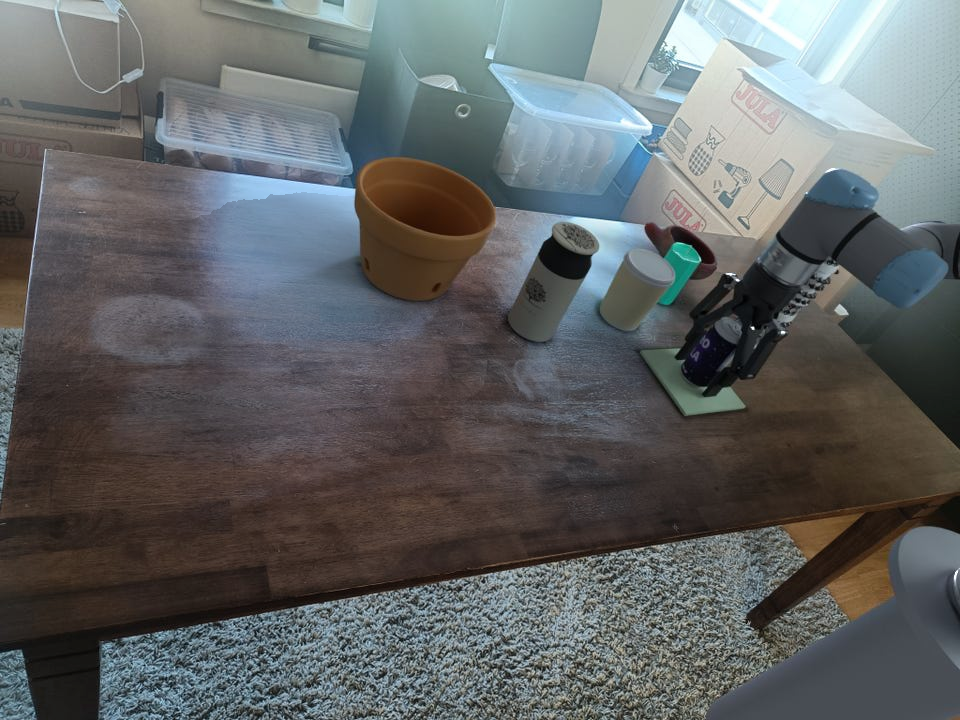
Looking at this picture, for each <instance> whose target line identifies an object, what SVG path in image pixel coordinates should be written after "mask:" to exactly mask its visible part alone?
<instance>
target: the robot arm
mask: <svg viewBox="0 0 960 720" xmlns="http://www.w3.org/2000/svg"><path fill="white" fill-rule="evenodd" d="M879 198H880V192H879V191H878V189H877V188H876V187H875V186H873V185H872V184H871V183H870V182H869V181H868V180H867V179H865V178H864V177H862V176H860V175H858V174H856V173H854V172H852V171H849V170H847V169H843V168H830V169H828V170H827V171H825V172H824V173H823V174H822V175H821V176H820V177H819V179H818V180H817V181H816V182H815V183H814V184H813V185H812V186H811V188H810V189H809V190H808V191H807V192H805V194H803V197H802V198H801V200H800V201H799V203H798V204H797V206H796V207H795V208H794V209H793V211H792V212H791V213H790V214H789V217H788V218H787V219H786V221H784V223H783V224H782V225H781V227H780V228H779V229H778V231H777V232H776V233H775V234H774V235H773V237H772V238H771V240H770V241H769V242H768V244H767V245H766V246H765V247H764V249H763V250H762V252H761V253H760V254H759V258H756V259H755V260H754V261H753V262H752V263H751V265H750V266H749V268H748V269H747V270H746V272H744V274H743V276H742V279H739V276H738V275H737V274H736V273H723V274H722V275H721V276H720V278H719V280H718V282H717V284H716V285H715V286H714V287H713V288H712V289H711V290H710V291H709V292H708V293H707V294H706V295H705V296H704V297H703V298H702V299H701V300H700V301H699V302H698V303H697V304H696V306H694V307H693V308H692V309H691V311H690V312H689V314H688V317H689V318H690V319H692V321H693V323H692V327H691V328H690V329H689V331H688V332H687V333H686V335H685V336H684V341H685V342H684V344H682V346H681V347H680V348H681V349H680V350H679V352H678V353H677V354H676V356H675V359H676V360H686V359H687V357H688V356H689V355H690V353H691V352H692V351H693V350H694V348H695V347H696V346H697V344H698V343H699V342H700V341H701V339H702V338H703V337H704V336H705V334H706V333H707V332H708V330H707V329H710V328H711V327H712V325H713V324H714V323H715V322H716V321H718V320H720V319H721V318H722V317H730V316H732V315H735V316H736V317H737V316H738V317H739V319H740V321H741V322H742V323H743V324H742V327H741V332H742V334H741V337H740V339H739V342H738V345H737V348H736V351H735V354H734V357H733V359H732V360H731V362H730V365H729V366H726V367H724V368H723V369H722V371H721V372H720V373H719V374H718V375H717V376H716V378H715V379H714V380H713V381H712V382H711V383H710V385H709V386H708V387H707V388H706V389H705V391H704V392H703V393H702V395H703V396H704V397H713V396H716V395H717V394H718V393H719V392H720V391H721V390H722V388H728V387H732V386H733V384H734V383H735V382H736V381H737V380H738V379H739V380H740V381H747V380H754V379H755V378H756V377H757V375H758V374H759V372H760V371H761V369H762V368H763V367H764V366H765V363H766V362H767V360H768V359H769V357H770V356H771V354H772V352H774V349H775V348H776V346H777V345H778V343H780V342H781V341H782V340H783V339H785V338H786V337H787V336H788V335H789V330H788V329H787V328H786V329H785V328H784V329H782V327H781V326H780V324H779V322H778V321H777V319H778V316H779V313H780V311H781V310H782V309H783V308H784V307H785V306H786V305H787V304H788V303H789V302H790V301H791V300H792V299H793V297H794V296H795V295H796V294H797V293H798V292H799V291H800V289H801V285H804V284H806V283H807V281H808V280H809V279H810V278H811V277H812V275H813V274H814V273H815V272H816V271H817V269H818V268H819V267H820V266H821V265H822V263H824V261H825V260H826V259H827V258H828V257H830V258H832V259H833V260H834V261H835V262H837V263H838V264H839V265H840V267H842V268H843V269H844V270H846V271H847V272H849V274H851V275H852V276H853V277H854V278H855V279H856V280H858V281H859V282H861V283H862V284H863V285H865V286H866V287H867V288H868V289H870V290H871V291H872V292H873V293H874V294H875V295H876V296H877V297H878V298H882V299H883V300H884V301H886V302H888V303H889V304H891V305H892V306H893V307H895V308H897V309H908V308H910V307H912V306H913V305H915V304H916V303H917V302H919V301H920V300H921V299H923V298H924V297H926V295H927V294H929V293H930V292H931V291H932V290H933V289H934V288H936V286H937V285H938V284H940V283H941V281H942V280H952V281H953V280H956V281H960V223H955V222H954V223H951V222H950V223H948V222H946V221H942V220H923V221H919V222H917V223H914V224H912V225H908V226H905V227H902V228H899V227H897V226H896V225H894V224H893V223H891V222H890V221H888V220H886V219H885V218H884V217H883V216H881V215H880V214H879V213H878V212H877V211H875V210H874V209H873V208H874V207H875V205H876V203H877V202H878V201H879ZM732 290H733V294H732V296H733V297H732V298H731V299H730V300H728V301H727V302H725V303H723V304H722V305H721V306H719V307H718V308H716V309H715V310H713V309H714V308H715V307H716V306H717V305H719V304H720V302H722V300H724V299H725V298H726V297H727V296H728V295H729V294H730V293H731V291H732ZM712 310H713V311H712ZM765 324H768V325H769V327H768V329H767V330H766V331H765V334H766V335H764V336H763V337H762V339H761V340H760V342H759V343H758V345H757V346H756V348H755V349H754V347H755V344H756V341H757V338H758V336H759V334H761V333H762V330H763V327H764V325H765ZM751 326H754V327H751ZM946 587H947V593H948V597H949V600H950V602H951V605H952V607H953V609H954V611H955V613H956V614H957V616H958V618H959V619H960V568H959V569H958V570H956V571H954V572H952V573H951V574H950V575H949V576H948V579H947V584H946Z"/></svg>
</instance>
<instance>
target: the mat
mask: <svg viewBox="0 0 960 720" xmlns="http://www.w3.org/2000/svg"><path fill="white" fill-rule="evenodd" d="M681 348H682V347H680V348H661V349H660V348H659V349H658V348H657V349H641V350H640V351H639V354H640V355H641V357H642V359H644V361H645V362H646V363H647V365H648V367H649V368H650V369H651V371H652V372H653V374H654V375H655V376H656V378H657V379H658V381H659V382H660V383H661V385H662V387H663V388H664V389H665V391H666V392H667V394H668V396H670V398H671V399H672V401H673V402H674V404H675V405H676V407H677V408H678V409H679V411H680V412H681V414H682V415H683V416H684V417H688V416H694V415H704V414H712V413H720V412H728V411H737V410H738V411H739V410H743V409H745V408H746V405H745V404H744V403H743V401H742V400H741V398H740V397H739V396H738V394H737V393H736V392H735V391H734V389H733V388H732V386H730V387H728V388H722V390H721V391H720V392H719V393H718V394H717V395H716V396H713V397H704V396H703V395H702V393H703V392H704V391H705V389H706V388H707V387H695V386H693V385H691V384H689V383H688V382H687V381H686V380H685V379H684V377H683V375H682V371H681V365H682V364H683V362H684V361H685V360H676V359H675V356H676V354H677V353H678V352H679V350H680V349H681Z"/></svg>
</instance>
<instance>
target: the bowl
mask: <svg viewBox="0 0 960 720" xmlns="http://www.w3.org/2000/svg"><path fill="white" fill-rule="evenodd" d="M644 232H645V235H646V237H647V238H648V240H649V241H650V242H651V243H652V245H653V246H654V247H655V249H656V250H657V252H658V253H659V256H661V257H662V258H663V259H664V257H665V256H666V254H667V253H668V251H669V250H670V248H671V247H672V245H673V244H674V243H676V242H678V243H684V244H687V245H690V246H691V245H692V248H693V249H694V250H695V251H696V252H697V253H698V255H699V256H700V258H701V262H700V263H699V265H698V266H697V268H696V269H695V270H694V272H693V273H692V275H691V276H690V278H689V279H688V280H690V281H701V280H704V279H707V278H709V277H710V276H711V275H712V274H714V272H715V271H716V270H717V268H718V267H717V266H718V259H717V256H716V254H715V253H714V252H713V250H712V248H711V247H710V246H709V245H708V244H707V243H706V242H705V241H704V240H703V239H701V238H700V237H698V236H697V234H695V233H693V232H692V231H690V230H689V229H687V228H685V227H683V226H681V225H677V224H671V225H669V226H667V227H665V228H661V227H660V226H658V224H657V223H655V222H653V221H651V222H647V223H645V225H644Z"/></svg>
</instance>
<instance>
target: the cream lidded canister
mask: <svg viewBox="0 0 960 720" xmlns="http://www.w3.org/2000/svg"><path fill="white" fill-rule="evenodd" d="M622 259H623V260H622V261H621V263H620V265H619V267H618V269H617V271H616V273H615V275H614V277H613V279H612V281H611V283H610V285H609V286H608V289H607V291H606V293H605V295H604V297H603V299H602V301H601V303H600V306H599V313H600V315H601V317H602V318H603V319H604V321H605V322H606V323H608V324H609V325H610V326H612V327H614V328H616V329H618V330H621V331H625V332H631V331H632V332H633V331H634V330H636V329H637V328H638V327H639V326H640V325H641V324H642V323H643V321H644V320H645V319H646V317H647V316H648V315H649V313H650V312H651V311H652V310H653V309H654V307H655V306H656V305H657V304H658V301H659V300H660V298H661V297H662V296H663V294H664V293H665V292H666V291H667V289H668V288H669V287H670V286H671V285H672V284H673V283H674V280H675V272H674V269H673V268H672V266H671V265H670V264H669V263H668V262H667V261H666V260H665V259H663V258H662V257H661V256H660V254H657V253H655V252H654V251H651V250H649V249H645V248H632V249H630V250H629V251H627V252H626V253H625V254H624V256H623V258H622Z"/></svg>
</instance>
